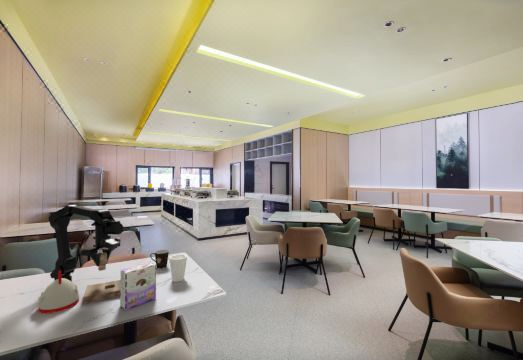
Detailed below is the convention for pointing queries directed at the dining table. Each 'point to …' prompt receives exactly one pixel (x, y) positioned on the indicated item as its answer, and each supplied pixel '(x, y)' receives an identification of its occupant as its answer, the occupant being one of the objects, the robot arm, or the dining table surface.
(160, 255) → the coffee mug
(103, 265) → the peg
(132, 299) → the candy box
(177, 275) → the foam cup
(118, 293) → the board
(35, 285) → the dining table surface
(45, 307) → the kitchen timer
